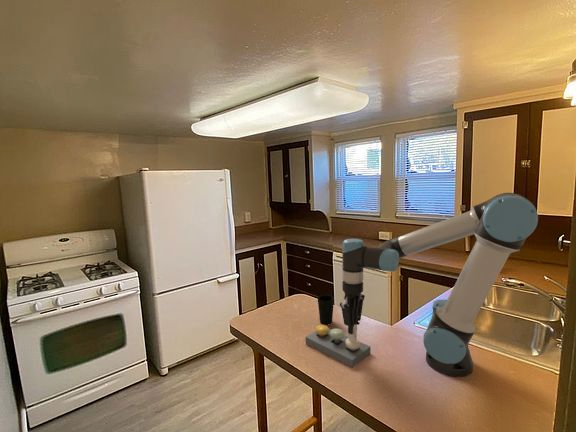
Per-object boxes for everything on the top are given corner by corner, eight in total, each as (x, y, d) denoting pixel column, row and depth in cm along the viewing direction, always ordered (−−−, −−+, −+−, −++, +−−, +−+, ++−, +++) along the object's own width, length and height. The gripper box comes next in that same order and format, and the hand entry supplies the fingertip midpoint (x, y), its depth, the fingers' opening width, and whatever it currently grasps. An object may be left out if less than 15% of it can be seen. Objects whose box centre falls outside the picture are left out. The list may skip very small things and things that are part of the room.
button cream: (362, 351, 117) (362, 341, 117) (354, 357, 114) (354, 346, 113) (351, 346, 121) (350, 336, 120) (343, 351, 117) (343, 341, 117)
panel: (370, 353, 119) (370, 346, 118) (352, 367, 111) (352, 360, 110) (324, 332, 135) (324, 326, 135) (305, 343, 127) (305, 336, 127)
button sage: (346, 341, 123) (346, 331, 122) (338, 347, 119) (338, 336, 118) (335, 337, 126) (335, 327, 126) (327, 342, 123) (327, 332, 122)
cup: (323, 317, 150) (323, 293, 148) (337, 321, 145) (337, 297, 144) (314, 323, 144) (314, 298, 143) (328, 327, 139) (328, 302, 138)
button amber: (331, 337, 128) (331, 327, 127) (323, 342, 125) (323, 332, 124) (321, 333, 132) (321, 323, 131) (313, 337, 128) (313, 328, 128)
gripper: (354, 274, 121) (353, 330, 124) (333, 283, 112) (333, 343, 115) (371, 278, 115) (370, 337, 119) (350, 288, 106) (350, 351, 110)
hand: (352, 340), depth 117 cm, fingers closed
